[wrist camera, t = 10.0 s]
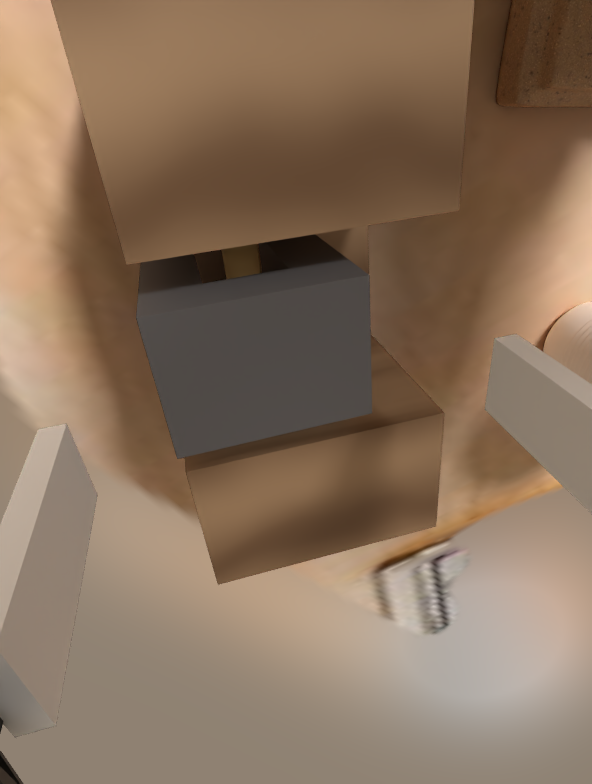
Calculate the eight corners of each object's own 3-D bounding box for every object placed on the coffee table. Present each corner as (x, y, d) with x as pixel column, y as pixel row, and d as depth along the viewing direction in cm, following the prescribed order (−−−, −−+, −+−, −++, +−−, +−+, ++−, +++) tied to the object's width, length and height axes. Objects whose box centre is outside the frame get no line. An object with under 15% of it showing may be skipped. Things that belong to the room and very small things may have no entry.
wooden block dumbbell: (93, 30, 21) (41, -32, 12) (351, 7, 23) (479, -62, 14) (202, 455, 34) (218, 584, 25) (364, 418, 36) (436, 526, 26)
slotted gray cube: (141, 249, 24) (136, 318, 16) (301, 224, 25) (369, 274, 17) (170, 357, 27) (177, 458, 19) (311, 329, 28) (372, 413, 20)
